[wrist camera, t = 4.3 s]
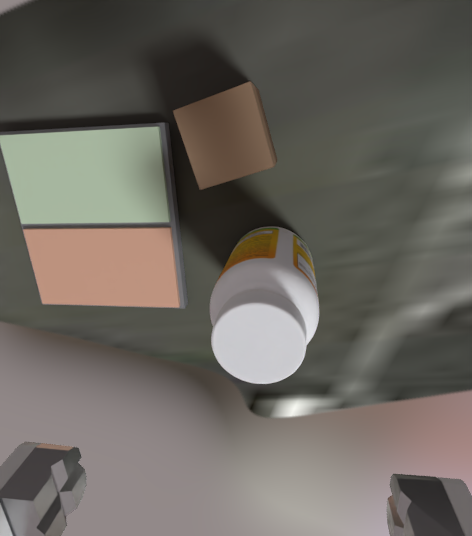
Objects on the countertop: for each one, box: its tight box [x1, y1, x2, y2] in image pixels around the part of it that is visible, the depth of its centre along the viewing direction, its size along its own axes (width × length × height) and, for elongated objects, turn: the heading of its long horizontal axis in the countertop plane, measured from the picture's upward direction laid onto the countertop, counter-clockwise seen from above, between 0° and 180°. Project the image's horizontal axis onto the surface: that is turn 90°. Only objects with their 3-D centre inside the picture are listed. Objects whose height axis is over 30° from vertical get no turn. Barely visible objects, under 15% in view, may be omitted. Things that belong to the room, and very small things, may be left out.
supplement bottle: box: [210, 226, 319, 384], centre depth 19 cm, size 5×5×10 cm
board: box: [0, 123, 188, 308], centre depth 24 cm, size 11×12×1 cm
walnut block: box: [173, 81, 277, 190], centre depth 20 cm, size 4×4×4 cm
